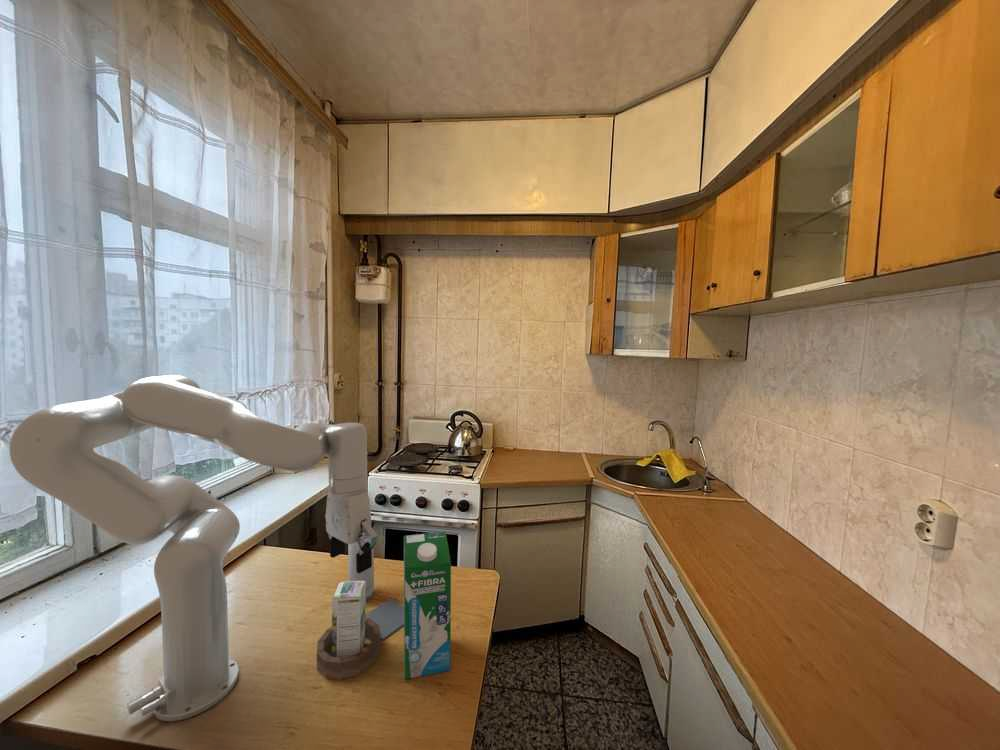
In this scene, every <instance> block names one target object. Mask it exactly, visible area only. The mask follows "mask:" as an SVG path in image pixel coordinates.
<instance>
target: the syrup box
mask: <svg viewBox="0 0 1000 750" xmlns="http://www.w3.org/2000/svg"><path fill="white" fill-rule="evenodd" d="M331 601H332V603H331V604H332V605H331V610H332V611H331V627H332V647H331V657H341V658H344V657H347V656H351V655H354V654H358V653H359V652H360V651H361V650H362V649H363V648H365V644H366V637H365V614H366V602H367V601H366V581H349V580H348V581H343V582H341V581H340V582H339V583H338V586H337V588H336V590H335V593H334V594H333V597H332V600H331Z"/></svg>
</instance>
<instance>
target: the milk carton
mask: <svg viewBox="0 0 1000 750" xmlns="http://www.w3.org/2000/svg"><path fill="white" fill-rule="evenodd" d="M451 568H452V560H451V556H450V549H449V543H448V538H447V533H446V531H445V530H444V531H435V532H429V533H421V534H417V533H416V534H411V535H410V534H409V535H403V606H404V626H403V656H404V657H403V661H404V662H403V663H404V680H409V679H410V680H411V679H414V678H418V677H422V676H423V677H424V676H427V675H432V674H437V673H441V672H446V671H450V670H451V641H452V638H451V633H452V632H451V631H452V629H451V625H452V623H451V616H452V615H451V612H452V611H451V610H452V609H451V608H452V606H451V605H452V604H451V603H452V602H451V601H452V591H451V590H452V569H451Z"/></svg>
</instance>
